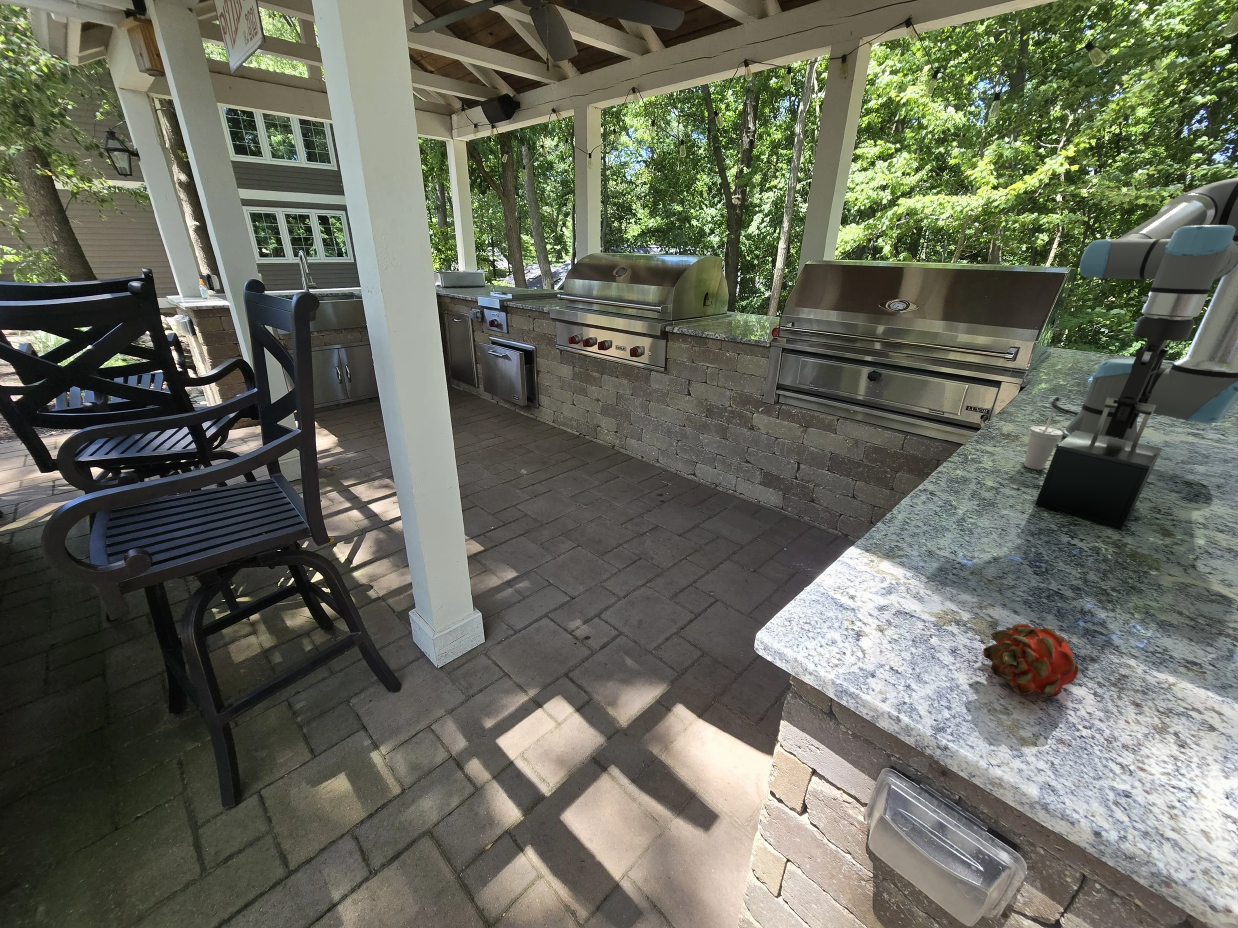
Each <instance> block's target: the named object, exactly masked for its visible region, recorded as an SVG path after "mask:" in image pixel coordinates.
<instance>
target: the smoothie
mask: <svg viewBox="0 0 1238 928" xmlns="http://www.w3.org/2000/svg"><path fill="white" fill-rule="evenodd" d="M1053 416H1054V412H1053V411H1051V412H1050V413H1049V415H1048V419H1047V421H1046V424H1045V426H1042V425H1041V426H1040V425H1035V426H1034V425H1033V426H1030V428H1029V430H1028V433H1029V437H1028V442H1027V447H1026V453H1025V458H1024V459H1025V460H1024V464H1023V465H1024V467H1025V468H1028V469H1032V470H1037V471H1041V470H1043V469H1044V467H1045V466H1046V464H1047V462H1048V460H1049V458H1050V457H1051V455H1052V453H1053V452H1054V450H1055V448H1056V447H1057V445H1058V442H1059V440H1060V439H1062V438H1063V433H1064V431H1061V429H1060V430H1059V429H1056V428H1053V427H1050V424H1051V421H1052V418H1053Z"/></svg>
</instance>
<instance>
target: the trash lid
mask: <svg viewBox="0 0 1238 928" xmlns="http://www.w3.org/2000/svg"><path fill="white" fill-rule="evenodd" d="M1115 400H1118V399H1115ZM1113 401H1114V399H1113V398H1108V399H1107V400H1106V403H1105V405H1104V407H1105V409H1104V411H1103V414H1102V416H1101V418H1100V421H1099V423H1098V426H1097V428H1096V431H1095V433H1094V434H1091V433H1086V432H1081V431H1076V430H1075V431H1074V432H1073V433H1072V434H1070V435H1069V436H1068V437H1067V438H1064V439H1062V441H1061V442H1059V443H1057V444H1056V447H1055V448H1056V449H1060V450H1064V451H1069V452H1073V453H1077V454H1082V455H1086V456H1090V457H1095V458H1099V459H1103V460H1108V461H1112V462H1116V463H1121V464H1125V465H1129V466H1134V467H1138V468H1142V469H1147V470H1149V469H1150V468H1151V466H1152V464H1153V463H1154V461H1155V460H1156V458H1157V457H1158V458H1159V456H1160V454H1161V452H1162V450H1163V447H1159V446H1154V445H1150V444H1145V443H1139V442H1140V440H1141V437H1142V435H1143V433H1144V431H1145V429H1146V427H1147V425H1148V422H1149V420H1150V417H1151V416H1152V415H1153V414H1152V413H1153V411H1154V409H1155V407H1156V405H1150V404H1144V403H1138V404H1137V405H1136V406H1137V408H1136V410H1135V413H1140V414H1141V415H1144V417H1143V419H1142V421H1141V423H1140V426H1139V428H1138V429H1137V434H1136V437H1135V439H1134V441H1133V442H1130V441H1125V440H1120V439H1116V438H1111V437H1106V436H1101V435H1099V434H1100V431H1101V429H1102V426H1103V424H1104V421H1105V419H1106V416H1107V414H1108V412H1109V409H1110V408H1111V409H1116V406H1117V404H1115V403H1113ZM1140 414H1139V415H1140ZM1056 449H1055V450H1056ZM1158 455H1159V456H1158ZM1158 458H1157V459H1158ZM1156 461H1157V460H1156Z"/></svg>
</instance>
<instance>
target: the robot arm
mask: <svg viewBox="0 0 1238 928" xmlns="http://www.w3.org/2000/svg"><path fill="white" fill-rule="evenodd" d="M1079 274H1080V275H1081V276H1082V277H1085V278H1096V279H1097V278H1098V279H1120V280H1121V279H1123V280H1124V279H1125V280H1152V281H1153V282H1152V285H1151V286H1150V289H1149V292H1148V296H1143V297H1142V298H1141V299H1140V301H1141V302H1142V303H1144V304H1143V307H1142V309H1141V311H1140V312H1141V314H1143V316H1142V315H1141V316H1140V317H1138V318H1137V320H1136V323H1135V324H1134V325H1135V326H1134V328H1133V330H1132V333H1131V334H1132V336H1133V337H1134V338H1138V339H1146V342H1145V343H1144V346H1142V345H1141V346H1140V347H1138V348H1137V350H1136V351H1135V358H1113V359H1106V360H1104V361H1102V362H1101V363H1099V365H1098V366H1097V368H1096V370H1095V373H1094V375H1092V380H1091V383H1090V385H1089V388H1088V390H1087V393H1086V396H1085V399H1084V401H1083V404H1082V407H1081V409H1080V410H1079V412H1076V411H1073V410H1069V409H1066V408H1064V407H1061V406H1059V405H1058V404H1057V403H1056V402H1057V401H1060V396H1055V398H1053V400H1052V403H1051V404H1052V405H1053V407H1055V408H1056V409H1058V410H1060V411H1062V412H1065V413H1067V414H1071V415H1075V416H1074V418H1072V420H1071V421H1070V422H1069V423H1068V424H1067V425H1066V427H1065V428H1064V431H1063V435H1062V437H1064V439H1066V438H1067V437H1068V436H1069V435H1070V434H1072V433H1073V432H1074V431H1075V430H1076V431H1081V432H1086V433H1091V434H1094V433H1095V431H1096V428H1097V426H1098V423H1099V421H1100V418H1101V416H1102V414H1103V411H1104V409H1105V407H1104V405H1105V403H1106V400H1107V399H1108V398H1113V399H1114V401H1113V403H1115V404H1117V406H1116V409H1111V408H1110V409H1109V412H1108V414H1107V416H1106V419H1105V421H1104V424H1103V426H1102V429H1101V431H1100V434H1099V435H1101V436H1106V437H1111V438H1116V439H1120V440H1125V441H1130V442H1133V441H1134V439H1135V437H1136V434H1137V432H1138V419H1139V416H1140V413H1135V410H1136V408H1137V406H1136V405H1137V404H1138V403H1144V404H1150V405H1156V407H1155V409H1154V411H1153V413H1152V415H1157V416H1163V417H1168V418H1174V419H1177V420H1178V419H1179V420H1184V421H1185V422H1194V423H1201V424H1215V423H1217V422H1218V421H1220V420H1221V419H1223V418H1224V417H1225V415H1226V414H1227V413H1228V412H1229V411H1230V410H1231V409H1232V407H1234V405H1235V404H1236V403H1237V401H1238V177H1234V178H1228V179H1227V178H1226V179H1223V180H1219V181H1216V182H1212V183H1209V184H1206V185H1203V186H1200V187H1197V188H1194V189H1192V190H1191V189H1190V190H1189V191H1187V192H1184V193H1182V194H1180V195H1179V196H1176V197H1174V198H1173V199H1171V200H1169V201H1168V202H1167V203H1165V204H1164V205H1163V206H1162V207H1161V208H1160V209H1159V210H1158V212H1157V214H1156V215H1154V216H1152V217H1150V218H1149V219H1147V220H1146V221H1144V222H1142V223H1141V224H1139V225H1137V226H1136V227H1134V228H1133V229H1131V230H1130V231H1127V232H1126V233H1125V234H1123V235H1122V236H1120V237H1118V238H1116V239H1114V238H1106V239H1095V240H1093V241H1092V242H1090V243H1089V244H1088V245H1087V246H1086V248H1085V249H1084V252H1083V253H1082V255H1081V258H1080V262H1079ZM1216 280H1219V282H1218V285H1217V287H1216V288H1215V291H1214V293H1213V296H1212V297H1211V300H1210V302H1209V305H1208V307H1207V308H1206V311H1205V313H1204V315H1203V318H1202V320H1201V322H1200V324H1199V326H1198V328H1197V330H1196V333H1195V335H1194V337H1193V339H1192V342H1191V344H1190V346H1189V348H1188V350H1187V352H1186V355H1184V356H1183V357H1182V358H1179V359H1177V360H1175V361H1174V362H1173V363H1172V365H1171V368H1167V367H1162V366H1163V362H1164V361H1165V358H1166V357H1167V356H1168V355H1169V351H1170V349H1169V346H1168V344H1167V343H1168V341H1170V342H1184V341H1187V340H1188V339H1189V337H1190V335H1191V333H1192V331H1193V328H1194V326H1195V324H1196V321H1195V320H1194V319H1193V318H1196V317H1198V316H1199V315H1200V313H1201V311H1202V309H1203V307H1204V305H1205V302H1206V301H1207V298H1208V296H1209V292H1210V289H1211V287H1212V285H1213V283H1214V281H1216ZM1115 399H1118V400H1115Z"/></svg>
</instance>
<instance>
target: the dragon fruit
mask: <svg viewBox="0 0 1238 928" xmlns="http://www.w3.org/2000/svg"><path fill="white" fill-rule="evenodd" d="M990 636H991V638H992V640H993V641H994V642H995V643H993V644H991V645H989V646H987V647H984V648H983V657H984V659H988V660H989V661H990V662H991V666H990V669H991V672H992V673H993V675H994V676H996V677H998V678H1000V679H1002V680H1004V681H1005V682H1006V683H1007V684H1008V685H1010V686H1011V687H1012V692H1015V693H1017V694H1020V695H1029V694H1032V693H1033V692H1034V691H1035V692H1037V693H1038V694H1040V695H1047V697H1048V698H1056V697H1057V696H1059V695H1061V693H1062V690H1063V689H1062V688H1063V687H1064V686H1066V685H1069V684H1071V683H1073V682H1074V680H1075V679H1076V677H1077V676H1078V674H1079V666H1078V664H1077V661H1076V660H1075V659H1074V657H1075V656H1074V653H1073V651H1072V649H1071V647H1070V645H1069V642H1068V641H1067V640H1066V639H1065V638H1064V636H1063V635H1059V634H1058V633H1057V632H1055V630H1053V629H1052V628H1050V627H1042V628H1039V627H1037V626H1035V627H1032V626H1031V625H1029V623H1016V624H1013V625H1012V626H1011V627H1006V628H1005V629H997V630H994V631H993V632H991V634H990Z"/></svg>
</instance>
